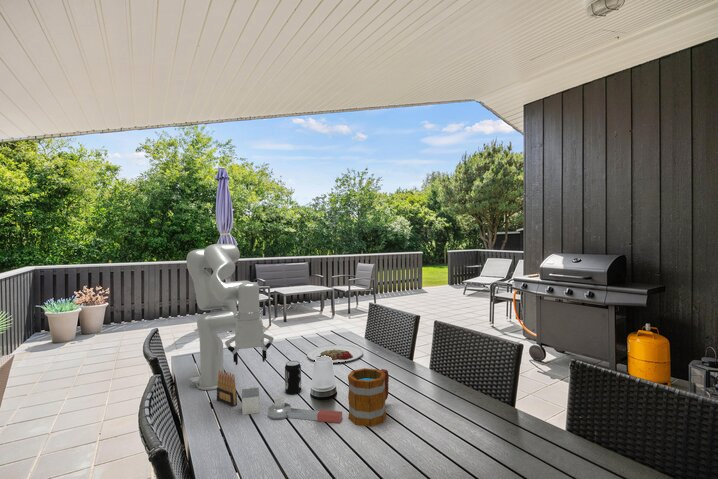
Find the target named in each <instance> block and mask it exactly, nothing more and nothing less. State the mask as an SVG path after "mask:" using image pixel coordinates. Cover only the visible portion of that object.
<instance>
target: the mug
mask: <svg viewBox="0 0 718 479" xmlns="http://www.w3.org/2000/svg"><path fill="white" fill-rule="evenodd" d="M389 378H390V375H389V370H387V369H383V368H382V369H377V368H376V369H375V368H360V369H354V370H351V371H350V373H348V375H347V380H348V394H347V395H348V396H347V397H348V420H349V421H350V422H352V424H354V425H355V426H361V427H363V426H364V427H374V426H376V425H380V424H384V422H385V419H386V417H387V411H386V401H387V400H388V396H389V382H390V380H389Z"/></svg>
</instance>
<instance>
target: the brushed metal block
mask: <svg viewBox="0 0 718 479" xmlns="http://www.w3.org/2000/svg"><path fill="white" fill-rule="evenodd" d="M259 388H260V387H251V388H243V389H241V407H242V408H241V412H242V414H241V416H245V415H251V414H259V413H260V389H259Z"/></svg>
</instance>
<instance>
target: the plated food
mask: <svg viewBox="0 0 718 479" xmlns="http://www.w3.org/2000/svg"><path fill="white" fill-rule="evenodd" d="M363 354H364V351H363V349H362V348H360V347H359V346H358V347H357V346H354V345H351V344H350V345H349V344H328V345H322V346H317V347H314V348H312V349H310V350H308V351H307V353H306V355H307V358H308V359H310V360H312V361H314V360H315V359H316V358H317V357H321V356H324V355H326V356H329V357H331V358H332V360H333V363H332V364H337V363H338V362H340V363H345V361H346V362H349V361H353V360H354V361H355V360H356V359H359V358H361V357H362V355H363ZM338 364H339V363H338Z"/></svg>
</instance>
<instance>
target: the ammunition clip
mask: <svg viewBox="0 0 718 479" xmlns="http://www.w3.org/2000/svg"><path fill="white" fill-rule="evenodd" d="M235 380H236V379H235V375H234V374H233V373H229V372H226V371H224V373H223V371H222V372H221V371H220V370H219V372H218V387H217V389H216V401H218V402H221V403H223V404H224V405H228V406H230V407H235V406H237V405H238V399H237V397H238V396H237V395H238V394H237V391H236V388H237V387H236V381H235Z"/></svg>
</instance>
